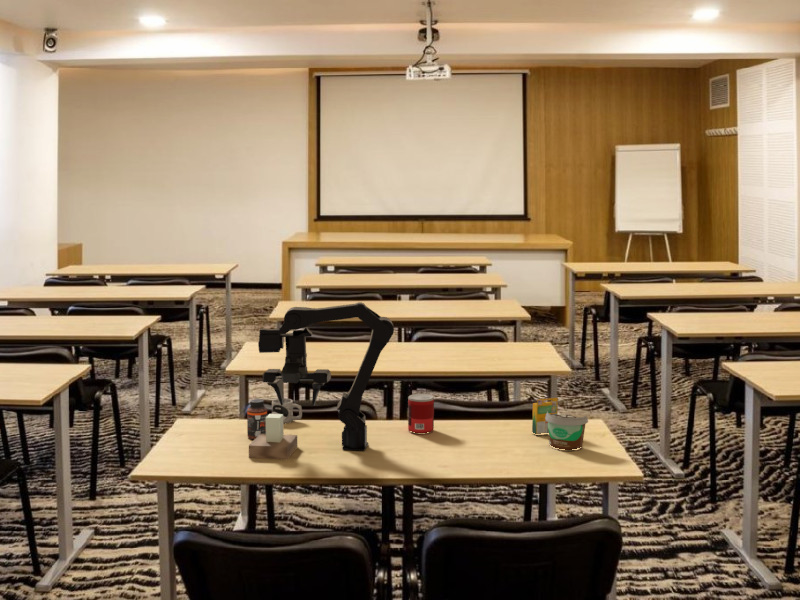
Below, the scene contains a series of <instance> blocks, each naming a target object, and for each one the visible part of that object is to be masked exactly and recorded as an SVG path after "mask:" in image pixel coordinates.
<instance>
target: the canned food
mask: <svg viewBox="0 0 800 600" xmlns="http://www.w3.org/2000/svg"><path fill="white" fill-rule="evenodd" d="M407 399H408V401H407V403H408V404H407V406H408V409H407V417H408V418H407V427H408V428H407V429H408V432H409V431H412V432H415V433H427V432H431V431H434V428H435V427H434V421H435V420H434V419H435V417H434V416H435V397H434V395H432V394H428V393H414V394H410V395H409V396H408V397H407ZM431 433H432V432H431Z"/></svg>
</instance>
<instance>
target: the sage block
mask: <svg viewBox="0 0 800 600" xmlns="http://www.w3.org/2000/svg"><path fill="white" fill-rule="evenodd" d="M284 435H285V433H284V424H283V414H272V413H269V414H267V417H266V442H281V441H282V439H283V438H284Z"/></svg>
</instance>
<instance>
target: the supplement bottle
mask: <svg viewBox="0 0 800 600" xmlns="http://www.w3.org/2000/svg"><path fill="white" fill-rule="evenodd" d="M249 402H250V403H249V405H250V406H249V407H248V408H247V411H246V413H247V416H246V417H247V418H246V419H247V420H246V423H247V429H246V430H247V438H248V439H250V440H255V439H256V438H257V437H258V436H259V435H260V434H266V417H267V416H268V409H267V407H266V406H265V401H264V399H261V398H260V399H259V398H258V399H257V398H256V399H251V400H250V401H249Z"/></svg>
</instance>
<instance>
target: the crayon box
mask: <svg viewBox="0 0 800 600" xmlns="http://www.w3.org/2000/svg"><path fill="white" fill-rule="evenodd" d="M558 401H559V398H558V397H548V398H547V397H546V398H538V399H536V402H534V403H532V425H531V426H532V429H531V432H533V433H535V434H541V433H549V432H548V421H547V420H546V419H545V417H546V413H547V411H548V413H549V414H553V415H558V409H559V408H558V405H559V403H558Z"/></svg>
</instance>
